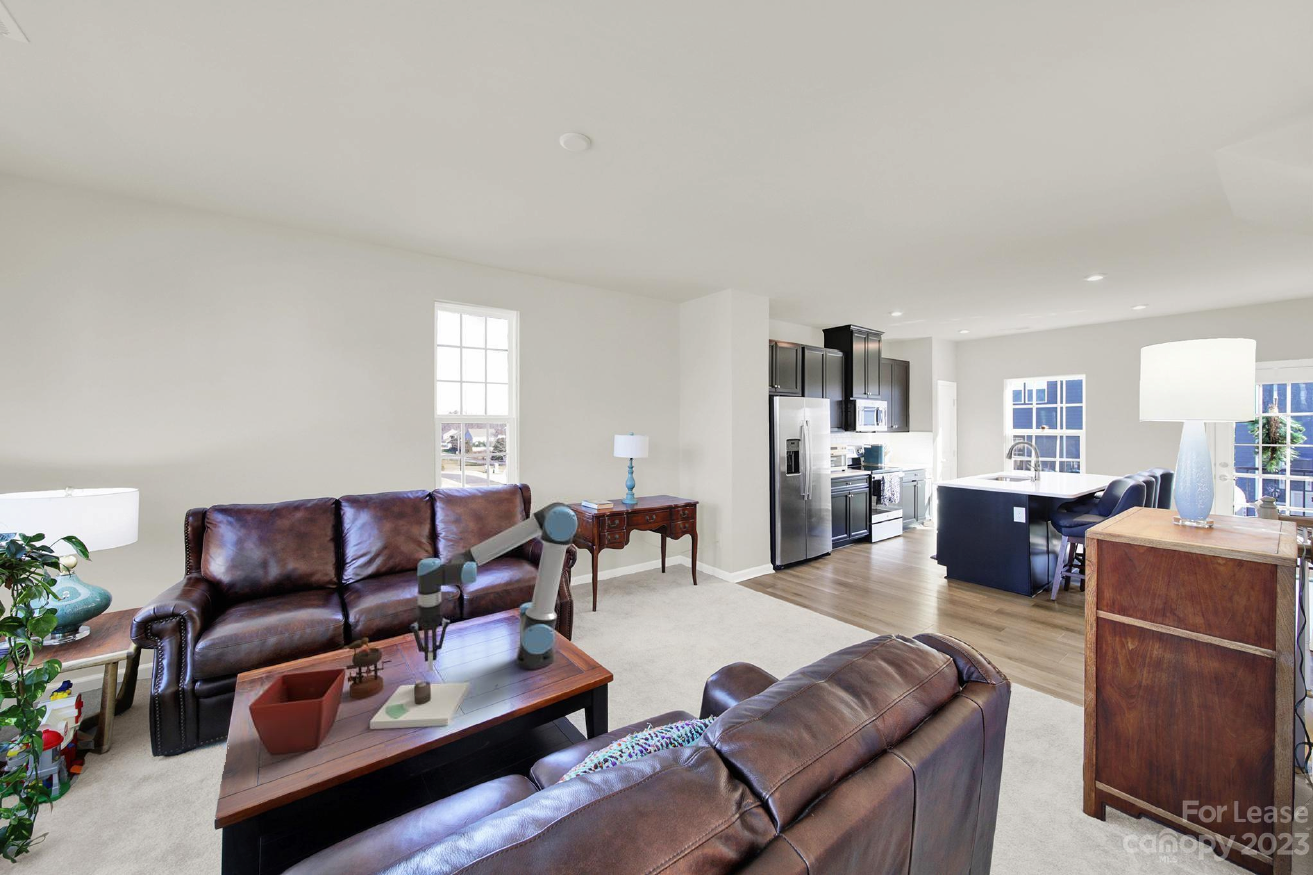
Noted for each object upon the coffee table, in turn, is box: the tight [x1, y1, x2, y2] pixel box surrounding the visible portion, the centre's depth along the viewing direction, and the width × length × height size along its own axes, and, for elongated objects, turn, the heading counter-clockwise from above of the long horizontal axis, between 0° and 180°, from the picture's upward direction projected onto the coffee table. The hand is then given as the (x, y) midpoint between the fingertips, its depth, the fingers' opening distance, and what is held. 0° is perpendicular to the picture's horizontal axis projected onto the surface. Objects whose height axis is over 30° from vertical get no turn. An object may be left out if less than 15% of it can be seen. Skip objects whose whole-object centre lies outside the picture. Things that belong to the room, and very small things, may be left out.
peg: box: [414, 678, 431, 704], centre depth 178 cm, size 14×5×5 cm, turn 33°
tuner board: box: [369, 682, 470, 730], centre depth 175 cm, size 24×22×3 cm
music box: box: [342, 637, 392, 700], centre depth 186 cm, size 15×11×20 cm
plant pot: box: [248, 667, 347, 756], centre depth 158 cm, size 19×19×17 cm
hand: (431, 669), depth 183 cm, fingers closed
